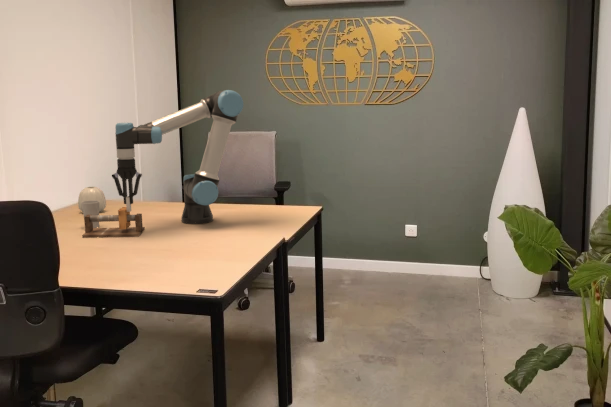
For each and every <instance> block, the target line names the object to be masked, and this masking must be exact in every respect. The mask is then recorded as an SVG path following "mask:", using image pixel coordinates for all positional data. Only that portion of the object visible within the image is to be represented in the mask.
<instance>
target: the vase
mask: <svg viewBox="0 0 611 407" xmlns="http://www.w3.org/2000/svg"><path fill="white" fill-rule="evenodd" d="M91 200H96V201H99V213H101V212H103V211H104V209H106V208H107V200H106V196H105V193H104V191H103V190H101V189H100V188H99V187H97V186H87V187H84V188H83V189H81V191H80V192H79V194H78V201H77V206H78V209H79V210H80V211H81V212H82V213H83V209H82V204H81V202H83V201H91Z"/></svg>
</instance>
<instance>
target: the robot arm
mask: <svg viewBox="0 0 611 407" xmlns="http://www.w3.org/2000/svg"><path fill="white" fill-rule="evenodd" d="M243 109H244V100H243V98H242V96H241V94H240V93H239V92H237V91H235V90H231V89H226V90H224V89H223V90H221V89H220V90H217V91H215V92H214V93H212V94H210V95H208V96H206V97H204V98H202V99H200V102H197V103H195V104H192V105H189V106H186V107H183V108H182V109H180V110H177V111H175V112H171V113H170V114H167V115H164V116H162V117H159V118H157V119H154V120H152V121H150V122H147V123H145V124H139V125H137V126H135V125H134V123H133V122H117V123H116V124H115V134H114V135H115V144H116V145H115V146H116V158H117V160H116V161H117V163H116V164H117V169H116V172H115V173H113V174H111V177H112V179H113V180H114V183H115V186H116V190H117V194H118V195H119V196H120V197H123V204H124V205H125V207H126V208H127V212H132V205H133V204H134V197H135V196H136V195H137V194H138V191H139V185H140V180H141V178H142V177H143V173H140V172H138V171H137V168H136V159H135V157H136V152H135V145H151V144H153V145H155V144H161V143H162V141H163V136H164V135H166V134H168V133H170V132H173V131H175V130H177V129H180V128H182V127H186V126H188V125H191V124H193V123H195V122H198V121H200V120H203V119H205V118H208V119H211V118H212V120H213V121H212V124H211V127H210V128H211V129H210V131H209V136H208V138H207V143H206V146H205V149H204V151H203V152H204V153H203V156H202V159H201V163H200V167H199V170H197V171H196V172H194V173H193V174H185V175H184V176H183V180H182V184H183V194H184V195H183V197H184V198H183V199H184V207H183V210H182V215H181V222H182V223H184V224H191V225H193V224H194V225H196V224H197V225H198V224H207V223H210V222H213V221H214V215H213V213H212V210H211V207H210V205H211V204H213V203H215V201H216V200H217V199H218V197H219V188H218V187H219V183H220V177H219V176H218V174H219V170H220V168H221V163H222V160H223V157H224V154H225V150H226V147H227V143H228V140H229V137H230V132H231V129H232V126H233V125H235V124H236V123H237V120H238V116H239V115H240V114H241V113H242V111H243ZM119 177H120V179H121V181H122V185H121V182H120V179H119ZM134 177H136V178H135V183H134V185H133V179H134ZM127 186H128V187H127ZM133 187H134V188H133Z"/></svg>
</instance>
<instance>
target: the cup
mask: <svg viewBox="0 0 611 407" xmlns="http://www.w3.org/2000/svg"><path fill="white" fill-rule="evenodd" d="M81 204H82V209H83V212H82V214H83V218H84V217H85V216H86V215H92V216H93V215H100V212H99V201H96V200H91V201H83V202H81ZM97 227H98V228H100V222H93V228H97Z"/></svg>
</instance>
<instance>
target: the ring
mask: <svg viewBox="0 0 611 407" xmlns="http://www.w3.org/2000/svg"><path fill="white" fill-rule="evenodd" d="M130 212H131V211H130ZM130 212H127V208H126V206H122V207H121V208H120V209H118V210H117V215H118V216H119V221H118V226H119V227H118V228H119V229H127V228H128V227H131V226H132V225H131V221H127V215H131V213H130Z"/></svg>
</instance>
